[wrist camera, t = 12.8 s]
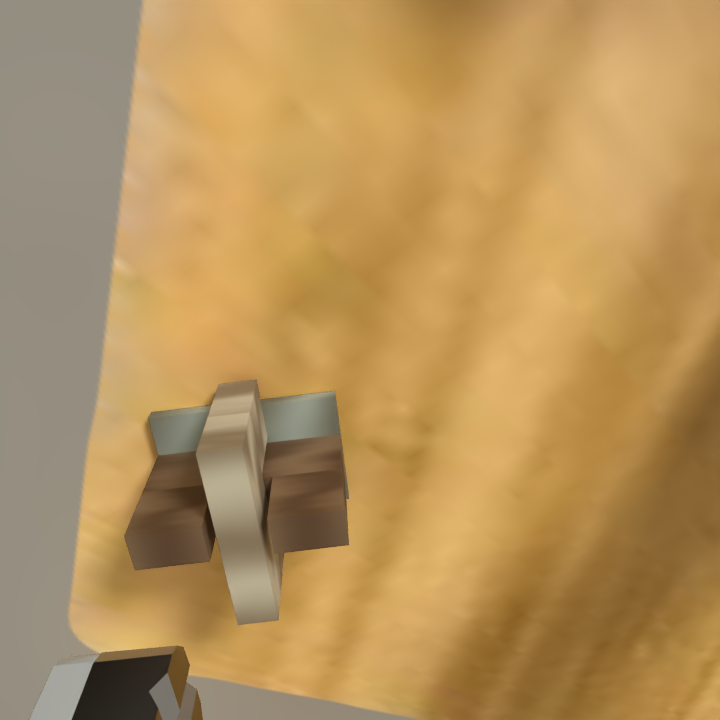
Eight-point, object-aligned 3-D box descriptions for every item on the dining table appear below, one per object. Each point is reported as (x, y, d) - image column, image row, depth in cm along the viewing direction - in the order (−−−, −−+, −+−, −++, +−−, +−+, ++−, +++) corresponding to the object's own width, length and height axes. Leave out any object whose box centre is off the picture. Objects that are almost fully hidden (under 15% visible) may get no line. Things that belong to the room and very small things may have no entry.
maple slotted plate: (218, 384, 40) (195, 453, 33) (256, 379, 40) (242, 448, 33) (251, 535, 45) (238, 625, 38) (285, 531, 45) (278, 620, 38)
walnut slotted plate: (334, 391, 42) (338, 467, 34) (348, 491, 45) (354, 583, 37) (151, 412, 42) (110, 494, 34) (178, 511, 45) (147, 607, 37)
